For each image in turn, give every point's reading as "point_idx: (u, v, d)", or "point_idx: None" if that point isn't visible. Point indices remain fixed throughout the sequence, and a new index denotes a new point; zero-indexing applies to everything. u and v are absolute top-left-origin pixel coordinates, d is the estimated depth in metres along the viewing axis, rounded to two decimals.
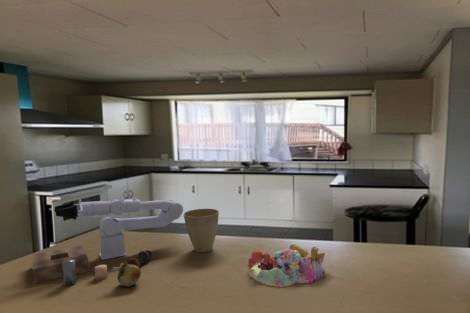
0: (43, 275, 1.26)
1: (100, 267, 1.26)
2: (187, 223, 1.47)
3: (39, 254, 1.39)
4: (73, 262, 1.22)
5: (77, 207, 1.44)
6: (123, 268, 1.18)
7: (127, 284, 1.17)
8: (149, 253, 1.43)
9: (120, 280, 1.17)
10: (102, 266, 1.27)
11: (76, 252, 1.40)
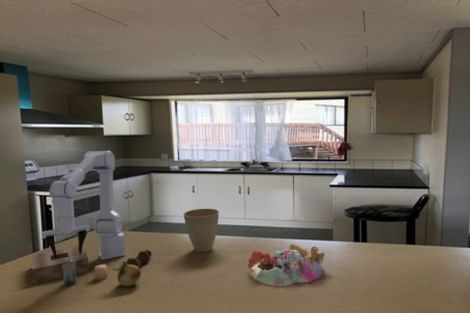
0: (43, 275, 1.26)
1: (100, 267, 1.26)
2: (187, 223, 1.47)
3: (39, 254, 1.39)
4: (73, 262, 1.22)
5: None
6: (123, 268, 1.18)
7: (127, 284, 1.17)
8: (149, 253, 1.43)
9: (120, 280, 1.17)
10: (102, 266, 1.27)
11: (76, 252, 1.40)
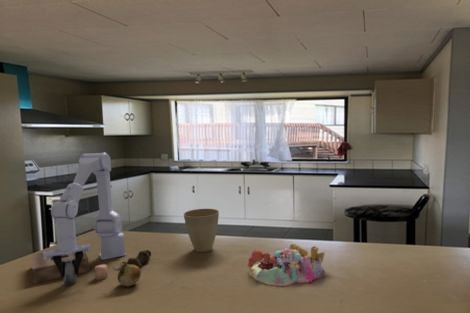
0: (43, 275, 1.26)
1: (100, 267, 1.26)
2: (187, 223, 1.47)
3: (39, 254, 1.39)
4: (73, 262, 1.22)
5: (61, 253, 1.21)
6: (123, 268, 1.18)
7: (127, 284, 1.17)
8: (149, 253, 1.43)
9: (120, 280, 1.17)
10: (102, 266, 1.27)
11: None
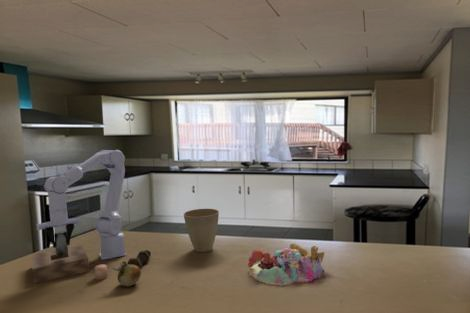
0: (43, 275, 1.26)
1: (100, 267, 1.26)
2: (187, 223, 1.47)
3: (39, 254, 1.39)
4: (65, 234, 1.31)
5: None
6: (123, 268, 1.18)
7: (127, 284, 1.17)
8: (148, 253, 1.43)
9: (120, 280, 1.17)
10: (102, 266, 1.27)
11: (76, 252, 1.40)
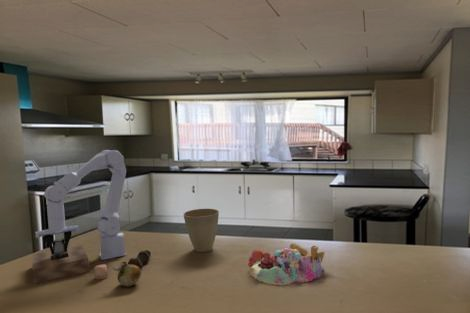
0: (43, 275, 1.26)
1: (100, 266, 1.26)
2: (187, 223, 1.47)
3: (39, 254, 1.39)
4: (62, 241, 1.35)
5: (51, 232, 1.34)
6: (123, 268, 1.18)
7: (127, 284, 1.17)
8: (148, 253, 1.43)
9: (120, 280, 1.17)
10: (102, 265, 1.27)
11: (76, 252, 1.40)
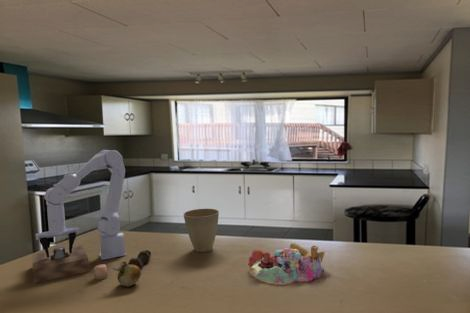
0: (43, 275, 1.26)
1: (100, 267, 1.26)
2: (187, 223, 1.47)
3: (39, 254, 1.39)
4: (63, 250, 1.36)
5: (52, 235, 1.34)
6: (123, 268, 1.18)
7: (127, 284, 1.17)
8: (149, 253, 1.43)
9: (120, 280, 1.17)
10: (101, 266, 1.27)
11: (76, 252, 1.40)
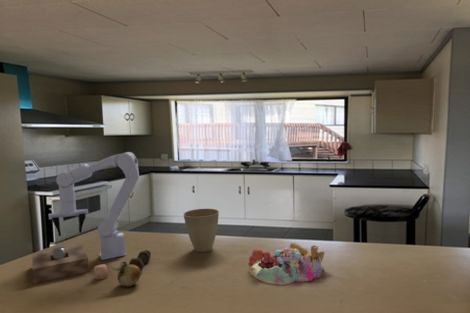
0: (43, 275, 1.26)
1: (101, 266, 1.26)
2: (187, 223, 1.47)
3: (39, 254, 1.39)
4: (63, 250, 1.35)
5: None
6: (123, 268, 1.18)
7: (127, 284, 1.17)
8: (149, 253, 1.43)
9: (120, 280, 1.17)
10: (101, 265, 1.27)
11: (76, 252, 1.40)
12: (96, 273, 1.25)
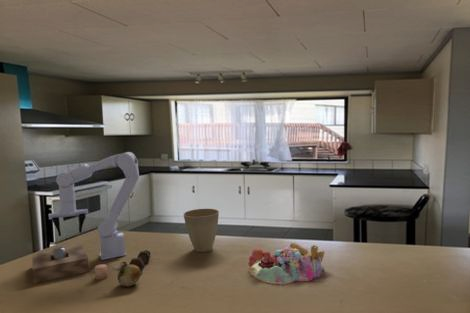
0: (43, 275, 1.26)
1: (101, 267, 1.26)
2: (187, 223, 1.47)
3: (39, 254, 1.39)
4: (63, 250, 1.36)
5: None
6: (123, 268, 1.18)
7: (127, 284, 1.17)
8: (148, 253, 1.43)
9: (120, 280, 1.17)
10: (102, 266, 1.27)
11: (76, 252, 1.40)
12: (97, 273, 1.25)
